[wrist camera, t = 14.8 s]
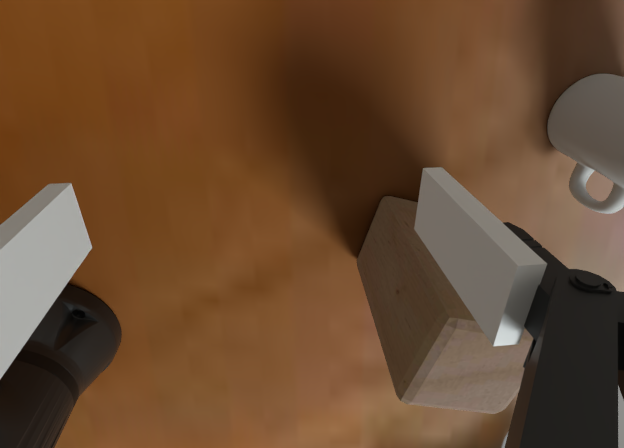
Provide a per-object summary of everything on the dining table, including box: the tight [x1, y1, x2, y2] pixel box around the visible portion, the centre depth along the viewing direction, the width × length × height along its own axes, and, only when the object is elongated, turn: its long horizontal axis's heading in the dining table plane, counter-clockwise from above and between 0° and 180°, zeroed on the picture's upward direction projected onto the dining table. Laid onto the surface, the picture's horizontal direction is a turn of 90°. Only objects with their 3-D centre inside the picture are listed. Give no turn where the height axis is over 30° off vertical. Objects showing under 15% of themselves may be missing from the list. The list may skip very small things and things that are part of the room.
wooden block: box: [357, 196, 533, 414], centre depth 39 cm, size 10×10×20 cm
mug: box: [547, 74, 624, 214], centre depth 38 cm, size 12×8×11 cm
